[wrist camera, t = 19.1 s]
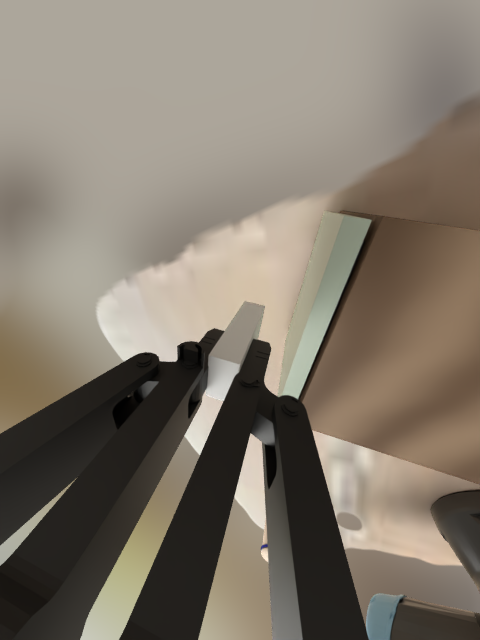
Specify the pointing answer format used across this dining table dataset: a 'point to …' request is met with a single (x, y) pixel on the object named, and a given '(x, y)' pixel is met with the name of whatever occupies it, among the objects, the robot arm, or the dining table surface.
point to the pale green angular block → (320, 295)
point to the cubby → (405, 349)
